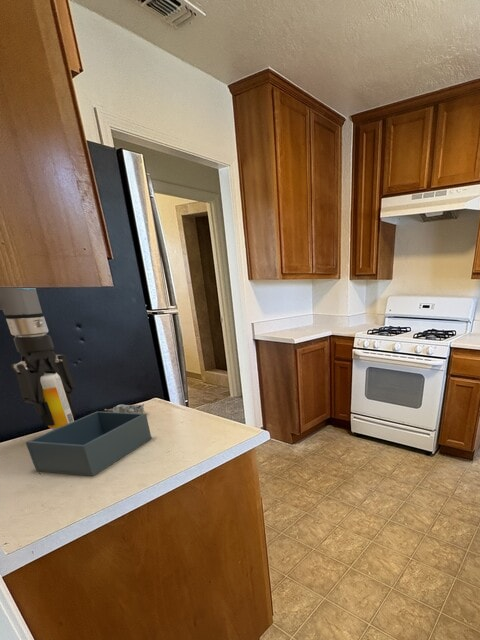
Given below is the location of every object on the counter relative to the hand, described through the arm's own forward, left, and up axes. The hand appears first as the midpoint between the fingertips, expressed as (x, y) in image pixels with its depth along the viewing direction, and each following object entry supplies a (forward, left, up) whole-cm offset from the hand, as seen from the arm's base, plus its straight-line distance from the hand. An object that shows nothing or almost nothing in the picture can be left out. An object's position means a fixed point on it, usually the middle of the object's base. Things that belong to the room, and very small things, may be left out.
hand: (60, 420), depth 98 cm
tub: (+16, -6, -6) cm, 18 cm away
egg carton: (+4, +20, -6) cm, 21 cm away
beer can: (0, 0, -2) cm, 2 cm away
